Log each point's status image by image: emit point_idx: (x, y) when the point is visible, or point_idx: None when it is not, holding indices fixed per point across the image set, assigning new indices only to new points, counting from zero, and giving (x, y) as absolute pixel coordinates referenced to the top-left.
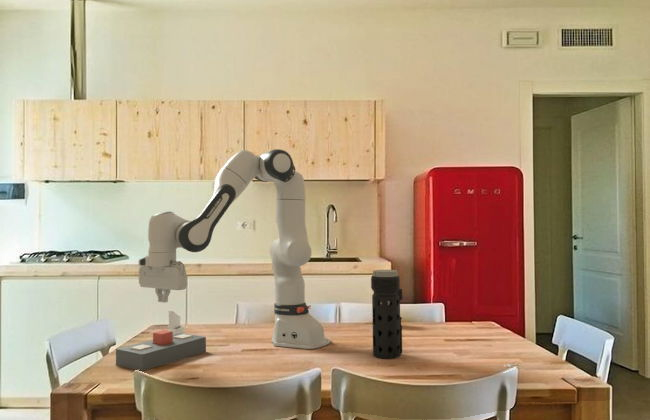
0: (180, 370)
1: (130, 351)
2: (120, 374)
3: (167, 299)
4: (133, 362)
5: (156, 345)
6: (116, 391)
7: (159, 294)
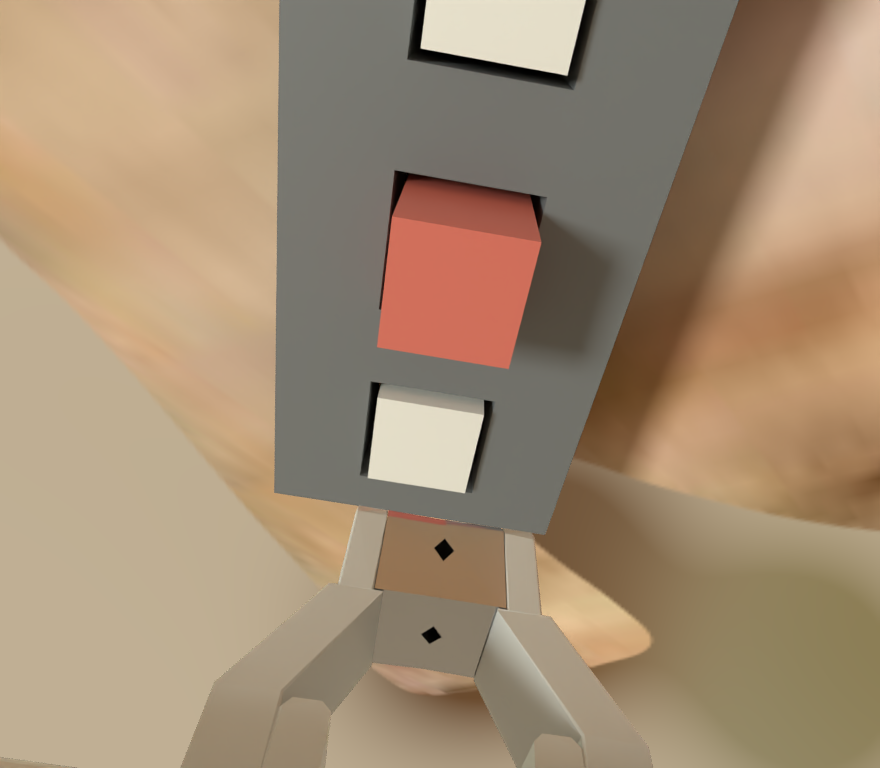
0: (755, 399)
1: (418, 510)
2: None
3: (535, 573)
4: None
5: None
6: (615, 653)
7: (337, 685)
